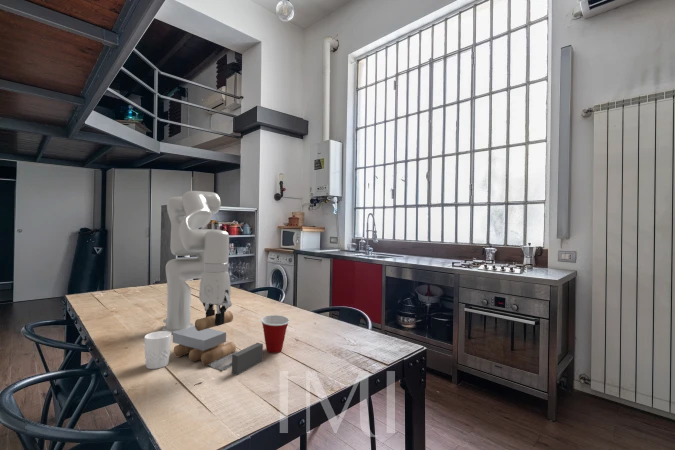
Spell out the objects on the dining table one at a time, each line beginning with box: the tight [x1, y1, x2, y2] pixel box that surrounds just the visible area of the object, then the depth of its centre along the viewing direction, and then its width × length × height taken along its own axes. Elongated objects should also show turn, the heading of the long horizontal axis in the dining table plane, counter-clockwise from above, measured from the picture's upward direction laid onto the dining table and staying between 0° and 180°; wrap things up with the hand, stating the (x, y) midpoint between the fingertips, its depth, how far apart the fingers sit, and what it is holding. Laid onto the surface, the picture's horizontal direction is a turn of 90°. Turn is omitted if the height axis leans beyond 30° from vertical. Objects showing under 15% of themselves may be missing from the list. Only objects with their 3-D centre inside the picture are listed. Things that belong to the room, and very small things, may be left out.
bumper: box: [231, 342, 264, 376], centre depth 107 cm, size 2×12×6 cm, turn 153°
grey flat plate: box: [208, 350, 238, 371], centre depth 111 cm, size 6×12×1 cm, turn 153°
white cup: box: [143, 330, 172, 370], centre depth 107 cm, size 8×8×10 cm
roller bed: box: [173, 341, 237, 366], centre depth 116 cm, size 18×12×4 cm, turn 63°
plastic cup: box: [260, 314, 291, 354], centre depth 122 cm, size 11×11×12 cm
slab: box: [172, 325, 227, 351], centre depth 118 cm, size 16×10×4 cm, turn 63°
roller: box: [194, 311, 234, 331], centre depth 105 cm, size 4×12×4 cm
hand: (214, 323), depth 106 cm, fingers closed on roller, 3 cm apart
